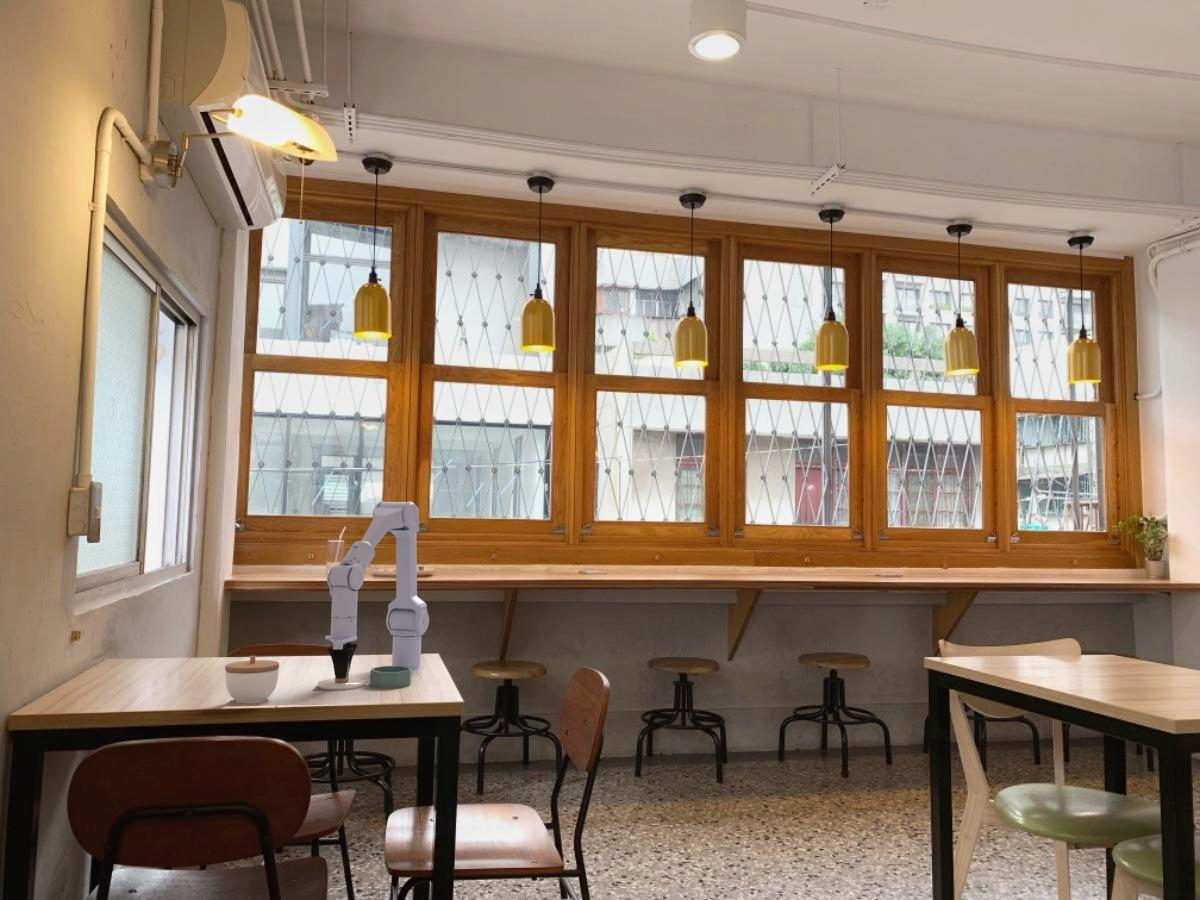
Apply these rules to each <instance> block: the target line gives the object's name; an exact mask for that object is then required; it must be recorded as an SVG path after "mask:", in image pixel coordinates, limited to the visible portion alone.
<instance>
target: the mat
mask: <svg viewBox="0 0 1200 900" xmlns="http://www.w3.org/2000/svg"><path fill="white" fill-rule="evenodd" d="M364 681H365V684H367V683H370V680H369V681H366V680H364ZM311 691H312V692H327V691H329V692H333V691H341V690H325V689H320V688H318V684H317V685H316V686H315V687H314V688H313V689H312V690H311Z"/></svg>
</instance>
